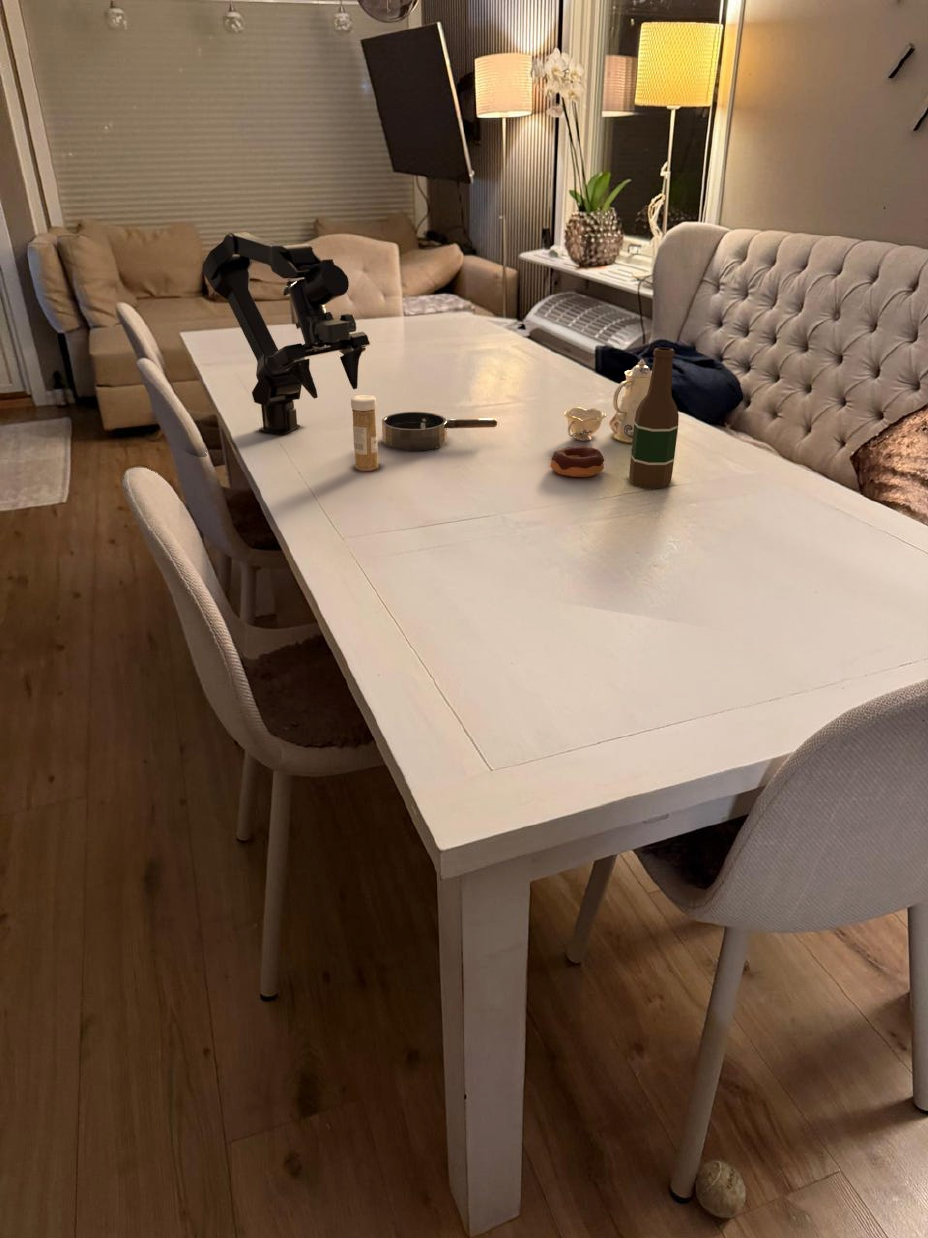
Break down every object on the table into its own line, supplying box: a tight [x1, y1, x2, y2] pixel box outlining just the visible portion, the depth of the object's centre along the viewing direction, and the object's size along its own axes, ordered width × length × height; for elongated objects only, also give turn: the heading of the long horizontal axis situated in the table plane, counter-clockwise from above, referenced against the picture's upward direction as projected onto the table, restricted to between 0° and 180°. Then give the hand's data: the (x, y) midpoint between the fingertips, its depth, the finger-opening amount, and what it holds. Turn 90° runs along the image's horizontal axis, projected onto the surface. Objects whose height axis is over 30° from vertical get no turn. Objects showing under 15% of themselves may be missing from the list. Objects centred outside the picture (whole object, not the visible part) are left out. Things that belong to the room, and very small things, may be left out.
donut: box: [549, 446, 605, 478], centre depth 169 cm, size 10×10×4 cm
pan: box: [381, 411, 448, 452], centre depth 184 cm, size 13×13×4 cm
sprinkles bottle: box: [350, 394, 379, 472], centre depth 167 cm, size 5×5×13 cm
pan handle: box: [446, 418, 498, 429], centre depth 185 cm, size 11×2×2 cm, turn 96°
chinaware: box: [562, 358, 652, 445], centre depth 187 cm, size 28×17×17 cm, turn 135°
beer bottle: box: [628, 346, 680, 489], centre depth 159 cm, size 8×8×24 cm
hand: (335, 393), depth 174 cm, fingers open, 9 cm apart
